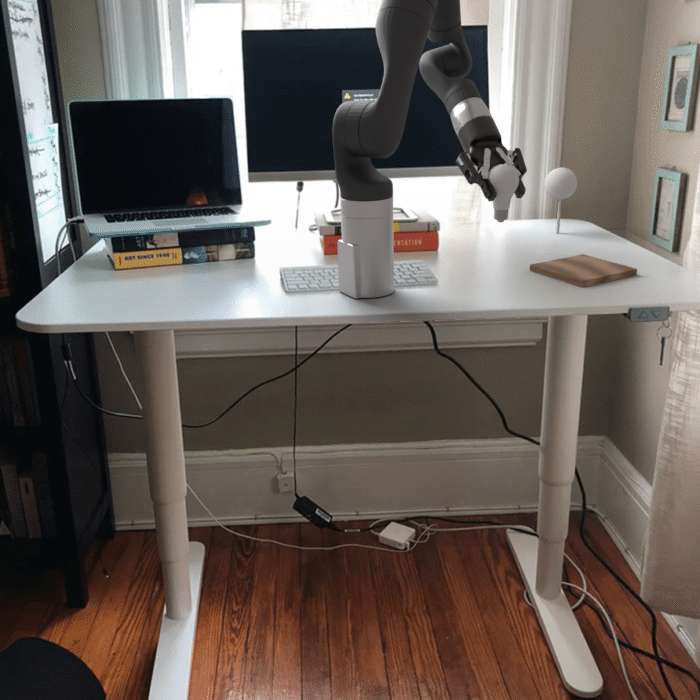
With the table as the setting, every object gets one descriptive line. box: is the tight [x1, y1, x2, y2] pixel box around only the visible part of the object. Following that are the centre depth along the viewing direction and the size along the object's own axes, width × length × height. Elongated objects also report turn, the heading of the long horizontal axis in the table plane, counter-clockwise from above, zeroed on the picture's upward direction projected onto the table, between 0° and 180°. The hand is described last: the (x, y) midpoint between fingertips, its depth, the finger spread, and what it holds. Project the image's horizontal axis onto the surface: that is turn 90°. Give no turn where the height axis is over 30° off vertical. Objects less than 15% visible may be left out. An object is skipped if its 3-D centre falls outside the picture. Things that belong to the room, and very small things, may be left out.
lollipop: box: [544, 167, 578, 234], centre depth 182 cm, size 7×7×15 cm
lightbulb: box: [488, 164, 519, 223], centre depth 152 cm, size 6×6×11 cm
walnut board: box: [529, 253, 638, 288], centre depth 153 cm, size 14×14×1 cm
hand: (507, 197), depth 150 cm, fingers closed on lightbulb, 6 cm apart
